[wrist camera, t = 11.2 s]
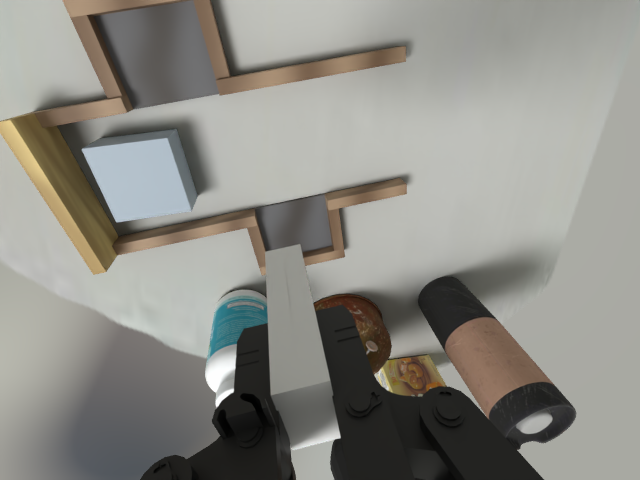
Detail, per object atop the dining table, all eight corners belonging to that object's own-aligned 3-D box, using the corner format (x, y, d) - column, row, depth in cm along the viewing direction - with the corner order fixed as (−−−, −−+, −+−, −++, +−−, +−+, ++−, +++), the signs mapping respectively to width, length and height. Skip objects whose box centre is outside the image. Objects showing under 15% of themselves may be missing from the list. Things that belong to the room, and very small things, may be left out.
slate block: (177, 128, 31) (167, 137, 28) (197, 195, 35) (191, 211, 31) (100, 137, 30) (81, 148, 27) (130, 205, 34) (116, 222, 31)
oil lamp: (349, 347, 56) (513, 764, 27) (267, 347, 49) (372, 916, 20) (393, 294, 49) (674, 778, 20) (304, 284, 42) (549, 1020, 13)
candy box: (376, 376, 56) (413, 475, 43) (379, 359, 54) (419, 459, 40) (425, 369, 57) (475, 463, 44) (429, 352, 55) (483, 446, 42)
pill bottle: (204, 299, 41) (184, 395, 30) (257, 278, 41) (257, 367, 30) (232, 336, 45) (224, 433, 34) (280, 317, 45) (289, 408, 34)
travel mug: (443, 266, 45) (555, 395, 28) (474, 288, 49) (591, 416, 32) (405, 302, 48) (488, 442, 31) (437, 321, 51) (527, 456, 34)
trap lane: (395, -51, 27) (421, -70, 23) (400, 237, 42) (417, 258, 37) (-24, 15, 25) (-82, 8, 20) (140, 295, 39) (126, 324, 35)
